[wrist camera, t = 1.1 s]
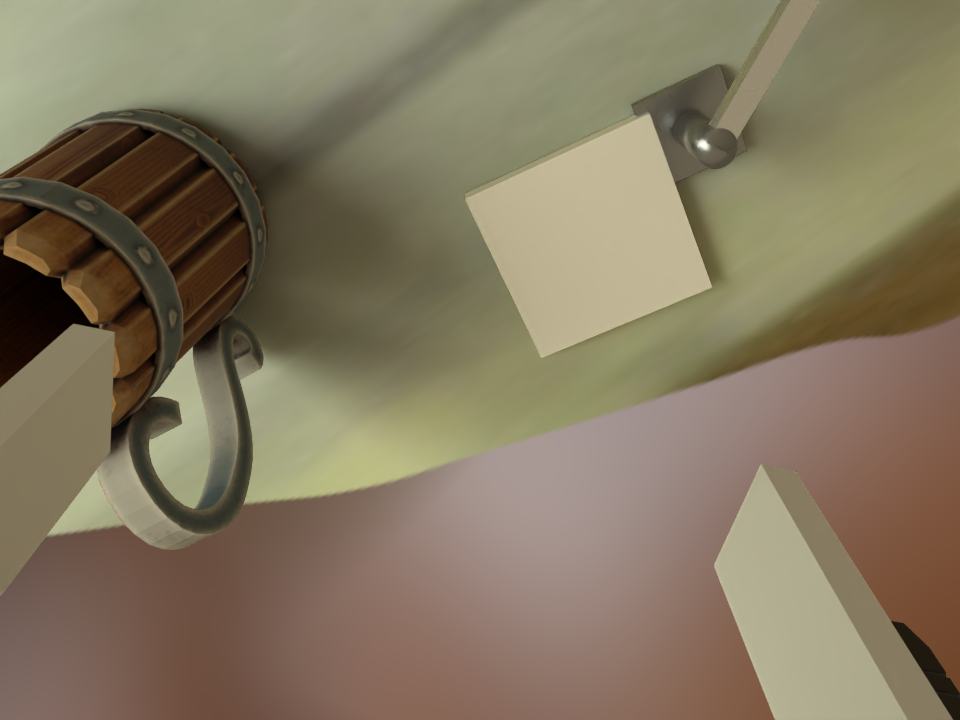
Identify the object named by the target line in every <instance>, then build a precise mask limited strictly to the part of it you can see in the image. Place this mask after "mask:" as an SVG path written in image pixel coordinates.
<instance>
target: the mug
mask: <svg viewBox="0 0 960 720" xmlns="http://www.w3.org/2000/svg"><path fill="white" fill-rule="evenodd" d="M257 189H258V188H257V186H256V184H255V182H254V181H253V179H252V177H251V175H250V173H249V172H248V170H247V169H246V167H245V166H244V165H243V164H242V162H241V161H240V160H239V158H238V157H237V156H236V155H235V153H233V152H229V151H226V150H225V149H224V148H223V147H222V145H221V142H220V140H219V138H217V137H216V136H214V135H213V134H211V133H210V132H208V131H207V130H205V129H204V128H202V127H201V126H199V125H197V124H195V123H193V122H190V121H188V120H186V119H184V118H182V117H180V118H178V119H175V118H173V117H171V116H168V115H166V114H164V113H163V112H162V111H154V110H146V109H127V110H118V111H109V112H101V113H99V114H97V115H94V116H92V117H90V118H87V119H85V120H83V121H80V122H78V123H76V124H74V125H72V126H70V127H69V128H67V129H65V130H64V131H62V132H60V133H59V134H57V135H56V136H55V137H54V138H53V139H52V140H50V141H49V142H48V143H47V144H46V145H45V146H44V147H43V148H41V149H40V150H39V151H38V152H37V153H35V154H33V155H32V156H30V157H29V158H27V159H25V160H24V161H22V162H20V163H19V164H17V165H15V166H14V167H12V168H10V169H9V170H7V171H5V172H4V173H2V174H0V388H1V387H2V386H3V385H4V384H5V383H7V382H8V381H9V380H10V379H11V378H12V377H13V376H15V375H16V374H17V373H18V372H19V371H20V370H21V369H22V368H24V367H25V366H26V365H27V364H28V363H29V362H30V361H32V360H33V359H34V358H35V357H36V356H37V355H38V354H40V353H41V352H42V351H43V350H44V349H45V348H46V347H48V346H49V345H50V344H51V343H52V342H53V341H54V340H55V339H57V338H58V337H59V336H60V335H61V334H62V333H63V332H65V331H66V330H67V329H68V328H69V327H70V326H71V325H73V324H78V325H82V326H87V327H92V328H97V329H102V330H107V331H112V332H115V340H114V366H113V392H112V418H111V444H110V453H109V454H108V455H107V457H106V458H105V459H104V461H103V462H102V463H101V464H100V466H99V467H98V468H97V474H98V478H99V482H100V485H101V487H102V489H103V491H104V494H105V496H106V498H107V500H108V502H109V504H110V505H111V506H112V508H113V509H114V511H115V512H116V514H117V515H118V517H119V518H120V520H121V521H122V522H123V523H124V524H125V525H126V526H127V527H128V528H129V529H130V530H131V531H132V532H133V533H134V534H135V535H137V536H138V537H139V538H141V539H142V540H144V541H145V542H147V543H148V544H149V545H153V546H155V547H158V548H161V549H180V548H184V547H187V546H189V545H192V544H194V543H196V542H198V541H200V540H202V539H204V538H206V537H208V536H210V535H213V534H215V533H217V532H219V531H221V530H223V529H225V528H226V527H228V526H229V525H230V524H231V523H232V522H233V521H234V519H235V518H236V517H237V516H238V514H239V512H240V510H241V508H242V506H243V503H244V500H245V497H246V494H247V490H248V485H249V480H250V475H251V469H252V461H253V444H252V434H251V427H250V421H249V416H248V411H247V406H246V402H245V398H244V394H243V391H242V387H241V383H240V379H242V378H244V377H246V376H248V375H250V374H252V373H254V372H255V371H257V370H259V369H261V368H262V365H263V353H262V349H261V346H260V344H259V342H258V340H257V338H256V336H255V334H254V333H253V332H252V331H251V329H250V328H249V327H248V325H246V324H245V323H244V322H243V321H242V320H241V319H239V318H237V317H235V316H230V315H231V314H232V313H233V312H234V311H235V310H236V309H237V308H238V307H239V306H240V305H241V303H242V302H243V301H244V299H245V298H246V297H247V295H248V294H249V293H250V291H251V290H252V288H253V287H254V286H255V284H256V283H257V280H258V277H259V274H260V271H261V268H262V265H263V262H264V260H265V245H266V244H267V243H268V224H267V219H266V213H265V208H264V205H263V204H262V203H261V202H260V201H259V199H258V197H257V195H256V191H257ZM192 347H193V359H194V367H195V371H196V376H197V380H198V384H199V388H200V392H201V396H202V400H203V404H204V408H205V413H206V418H207V423H208V429H209V437H210V464H209V470H208V475H207V478H206V482H205V486H204V489H203V492H202V496H201V498H200V500H199V503H198V505H197V506H196V508H195V509H192V508H189V507H187V506H184V505H183V504H181V503H180V502H179V501H177V500H176V499H175V498H174V497H173V496H172V495H171V494H170V493H169V491H168V490H167V489H166V488H165V487H164V485H163V484H162V482H161V481H160V479H159V478H158V476H157V474H156V472H155V470H154V468H153V465H152V462H151V458H150V455H149V439H153V438H155V437H157V436H159V435H161V434H163V433H165V432H167V431H169V430H171V429H173V428H175V427H177V426H179V425H181V424H182V421H181V415H180V409H179V403H178V402H177V401H174V400H172V399H168V398H164V397H151V396H152V395H153V394H154V393H155V392H156V391H157V390H158V389H159V388H160V386H161V385H162V384H163V382H164V381H165V379H166V378H167V377H168V375H169V374H170V372H171V371H172V370H173V368H174V367H175V364H176V363H177V362H178V361H179V360H180V359H181V358H182V357H183V356H184V355H185V354H186V353H187V352H188V351H189V350H190V349H191V348H192ZM150 397H151V398H150Z"/></svg>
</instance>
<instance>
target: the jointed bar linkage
mask: <svg viewBox="0 0 960 720" xmlns="http://www.w3.org/2000/svg"><path fill="white" fill-rule="evenodd" d="M819 2H820V0H780V2H779V4H778V6H777V7H776V9H775V11H774V13H773V14H772V16H771V18H770V19H769V21H768V23H767V25H766V26H765V28H764V30H763V31H762V33H761V35H760V37H759V38H758V40H757V42H756V44H755V45H754V47H753V49H752V50H751V52H750V54H749V56H748V57H747V59H746V61H745V62H744V64H743V66H742V68H741V69H740V71H739V73H738V75H737V76H736V78H735V80H734V81H733V83H732V85H731V87H730V88H729V90H728V89H727V86H726V83H725V79H724V76H723V73H722V70H721V67H720V66H719V65H717V64H716V65H714V66H712V67H710V68H708V69H706V70H703V71H701V72H699V73H697V74H695V75H693V76H691V77H688V78H686V79H684V80H682V81H680V82H678V83H676V84H673V85H671V86H669V87H667V88H665V89H663V90H661V91H658V92H656V93H654V94H652V95H650V96H648V97H646V98H643V99H641V100H639V101H637V102H635V103H633V104H631V105H632V108H633V111H634V114H635V115H636V116H637V117H638V116H640V115H643V114H645V113H647V112H648V113H650V116H651V119H652V121H653V124H654V127H655V130H656V132H657V135H658V138H659V141H660V144H661V146H662V149H663V152H664V155H665V157H666V160H667V163H668V166H669V169H670V171H671V174H672V177H673V180H674V182H677V181H679V180H682V179H684V178H686V177H688V176H691V175H693V174H695V173H697V172H700V171H702V170H704V169H706V168H712V169H718V168H722V167H724V166H726V165H728V164H729V163H730V162H731V161H732V160H733V159H734V157H735V156H736V155H738V154H740V153H743V152H745V151H747V149H746V146H745V143H744V140H743V137H742V133H741V132H742V130H743V128H744V127H745V125H746V123H747V122H748V120H749V118H750V117H751V115H752V113H753V112H754V110H755V108H756V107H757V105H758V103H759V102H760V100H761V98H762V97H763V95H764V93H765V92H766V90H767V88H768V87H769V85H770V83H771V82H772V80H773V78H774V77H775V75H776V73H777V72H778V70H779V68H780V67H781V65H782V63H783V62H784V60H785V58H786V57H787V55H788V53H789V52H790V50H791V48H792V47H793V45H794V43H795V42H796V40H797V38H798V37H799V35H800V33H801V32H802V30H803V28H804V27H805V25H806V23H807V22H808V20H809V18H810V17H811V15H812V13H813V12H814V10H815V8H816V7H817V5H818V3H819Z"/></svg>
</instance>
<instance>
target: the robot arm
mask: <svg viewBox="0 0 960 720" xmlns="http://www.w3.org/2000/svg"><path fill="white" fill-rule="evenodd" d="M114 340H115V332H112V331H107V330H102V329H97V328H92V327H87V326H82V325H78V324H73V325H71V326H70V327H69V328H68V329H67V330H66V331H65V332H63V333H62V334H61V335H60V336H59V337H58V338H57V339H55V340H54V341H53V342H52V343H51V344H50V345H49V346H48V347H46V348H45V349H44V350H43V351H42V352H41V353H40V354H38V355H37V356H36V357H35V358H34V359H33V360H32V361H30V362H29V363H28V364H27V365H26V366H25V367H24V368H22V369H21V370H20V371H19V372H18V373H17V374H16V375H15V376H13V377H12V378H11V379H10V380H9V381H8V382H7V383H5V384H4V385H3V386H2V387H1V388H0V596H1V595H2V593H3V592H4V591H5V589H6V588H7V587H8V586H9V584H10V583H11V582H12V580H13V579H14V578H15V576H16V575H17V574H18V572H19V571H20V570H21V568H22V567H23V566H24V564H25V563H26V562H27V560H28V559H29V558H30V557H31V555H32V554H33V553H34V551H35V550H36V549H37V547H38V546H39V545H40V543H41V542H42V541H43V539H44V538H45V537H46V536H47V534H48V533H49V532H50V530H51V529H52V528H53V526H54V525H55V524H56V522H57V521H58V520H59V518H60V517H61V516H62V514H63V513H64V512H65V511H66V509H67V508H68V507H69V505H70V504H71V503H72V501H73V500H74V499H75V497H76V496H77V495H78V493H79V492H80V491H81V489H82V488H83V487H84V486H85V484H86V483H87V482H88V480H89V479H90V478H91V476H92V475H93V474H94V472H95V471H96V470H97V468H98V467H99V466H100V464H101V463H102V462H103V461H104V459H105V458H106V457H107V455H108V454H109V453H110V444H111V418H112V392H113V366H114ZM714 567H715V570H716V572H717V575H718V577H719V580H720V582H721V585H722V587H723V590H724V592H725V595H726V598H727V600H728V603H729V605H730V608H731V610H732V613H733V615H734V618H735V620H736V623H737V625H738V628H739V630H740V633H741V635H742V638H743V640H744V643H745V645H746V648H747V650H748V653H749V656H750V658H751V660H752V663H753V666H754V668H755V671H756V673H757V676H758V678H759V681H760V683H761V686H762V688H763V691H764V693H765V696H766V698H767V701H768V703H769V706H770V709H771V711H772V714H773V716H774V718H775V720H960V693H959V692H958V690H957V688H956V687H955V685H954V684H953V682H952V681H951V679H950V678H946V672H945V670H944V669H943V667H942V666H941V665H940V663H939V661H938V660H937V659H936V657H935V655H934V654H933V653H932V651H931V650H930V648H929V647H928V646H927V645H926V644H925V643H924V642H923V641H922V640H921V639H920V638H919V637H918V636H917V635H915V634H914V633H913V632H912V631H911V630H910V629H909V628H908V627H907V626H906V625H905V624H904V623H899V622H894V621H890V619H889V618H888V616H887V615H886V613H885V612H884V610H883V608H882V607H881V606H880V604H879V602H878V601H877V599H876V597H875V596H874V595H873V593H872V591H871V589H870V588H869V586H868V585H867V583H866V582H865V580H864V579H863V577H862V576H861V574H860V572H859V571H858V569H857V568H856V566H855V564H854V563H853V561H852V559H851V558H850V557H849V555H848V553H847V552H846V550H845V548H844V547H843V545H842V544H841V542H840V541H839V539H838V537H837V536H836V534H835V533H834V531H833V530H832V528H831V526H830V525H829V523H828V522H827V520H826V519H825V517H824V515H823V514H822V512H821V511H820V509H819V507H818V506H817V504H816V503H815V501H814V500H813V498H812V496H811V495H810V493H809V492H808V490H807V489H806V487H805V485H804V484H803V482H802V481H801V479H800V477H799V476H798V474H797V473H796V471H793V470H788V469H783V468H778V467H773V466H768V465H763V464H761V465H760V467H759V469H758V472H757V474H756V476H755V478H754V480H753V482H752V484H751V487H750V489H749V491H748V493H747V495H746V497H745V500H744V502H743V504H742V506H741V508H740V510H739V512H738V515H737V517H736V519H735V521H734V523H733V525H732V528H731V530H730V532H729V534H728V536H727V539H726V541H725V543H724V545H723V547H722V549H721V551H720V554H719V556H718V558H717V560H716V562H715V564H714Z"/></svg>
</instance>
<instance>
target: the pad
mask: <svg viewBox="0 0 960 720" xmlns="http://www.w3.org/2000/svg"><path fill="white" fill-rule="evenodd" d="M465 200H466V203H467V205H468V207H469V209H470V211H471V213H472V215H473V217H474V219H475V221H476V223H477V225H478V227H479V230H480V232H481V234H482V236H483V238H484V240H485V242H486V244H487V246H488V248H489V250H490V252H491V255H492V257H493V259H494V261H495V263H496V265H497V267H498V269H499V271H500V273H501V275H502V277H503V279H504V282H505V284H506V286H507V288H508V290H509V292H510V294H511V296H512V298H513V300H514V302H515V304H516V306H517V309H518V311H519V313H520V315H521V317H522V319H523V321H524V323H525V325H526V327H527V329H528V331H529V333H530V336H531V338H532V340H533V342H534V344H535V346H536V348H537V350H538V352H539V354H540V356H541V358H543V357H545V356H548V355H550V354H553V353H555V352H558V351H560V350H562V349H565V348H567V347H570V346H572V345H574V344H577V343H579V342H582V341H584V340H586V339H589V338H591V337H594V336H596V335H599V334H601V333H603V332H606V331H608V330H611V329H613V328H615V327H618V326H620V325H623V324H625V323H628V322H630V321H632V320H635V319H637V318H640V317H642V316H644V315H647V314H649V313H652V312H654V311H656V310H659V309H661V308H664V307H666V306H669V305H671V304H673V303H676V302H678V301H681V300H683V299H685V298H688V297H690V296H693V295H695V294H698V293H700V292H702V291H705V290H707V289H710V288H712V285H711V282H710V280H709V277H708V274H707V271H706V269H705V266H704V263H703V260H702V257H701V255H700V252H699V249H698V246H697V244H696V241H695V238H694V235H693V232H692V230H691V227H690V224H689V221H688V219H687V216H686V213H685V210H684V207H683V205H682V202H681V199H680V196H679V194H678V191H677V188H676V185H675V182H674V180H673V177H672V174H671V171H670V169H669V166H668V163H667V160H666V157H665V155H664V152H663V149H662V146H661V144H660V141H659V138H658V135H657V132H656V130H655V127H654V124H653V121H652V119H651V116H650V113H648V112H647V113H645V114H643V115H640V116H638V117H637V116H636V115H633V116H631V117H629V118H627V119H625V120H622V121H620V122H618V123H616V124H614V125H612V126H609V127H607V128H605V129H603V130H601V131H599V132H597V133H594V134H592V135H590V136H588V137H586V138H584V139H581V140H579V141H577V142H575V143H573V144H571V145H569V146H566V147H564V148H562V149H560V150H558V151H556V152H553V153H551V154H549V155H547V156H545V157H543V158H540V159H538V160H536V161H534V162H532V163H530V164H528V165H525V166H523V167H521V168H519V169H517V170H515V171H512V172H510V173H508V174H506V175H504V176H502V177H500V178H497V179H495V180H493V181H491V182H489V183H487V184H484V185H482V186H480V187H478V188H476V189H474V190H472V191H469V192H467V193H465Z"/></svg>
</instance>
